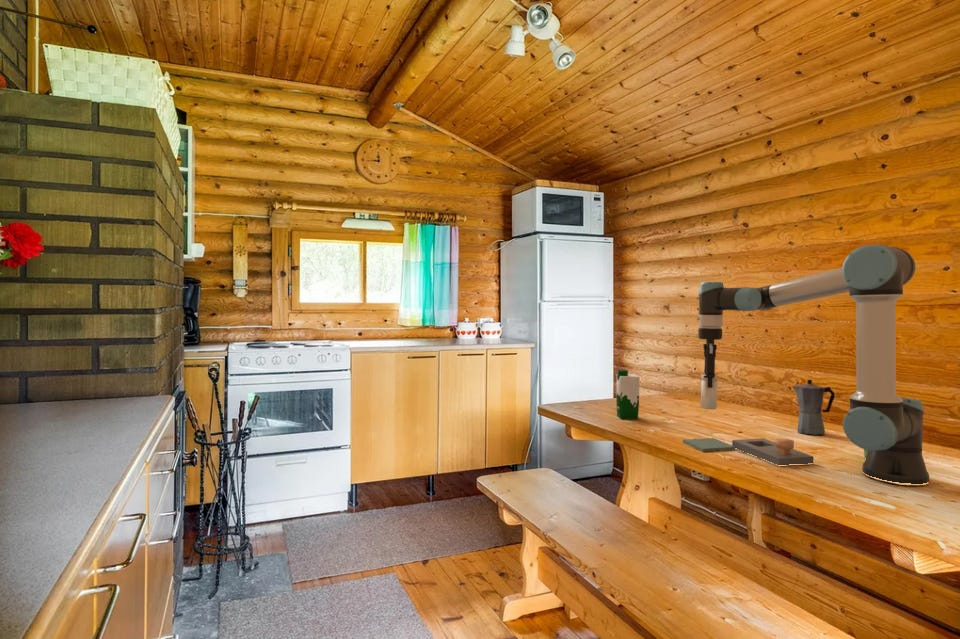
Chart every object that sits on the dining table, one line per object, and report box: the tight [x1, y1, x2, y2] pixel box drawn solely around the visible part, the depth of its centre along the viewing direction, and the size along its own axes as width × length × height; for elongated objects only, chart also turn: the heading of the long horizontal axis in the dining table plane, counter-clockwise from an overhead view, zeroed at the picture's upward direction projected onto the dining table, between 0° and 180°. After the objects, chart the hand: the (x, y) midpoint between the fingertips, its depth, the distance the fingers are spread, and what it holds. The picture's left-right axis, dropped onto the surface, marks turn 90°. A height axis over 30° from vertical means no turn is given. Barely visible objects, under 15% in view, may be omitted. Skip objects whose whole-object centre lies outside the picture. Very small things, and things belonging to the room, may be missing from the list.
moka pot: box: [792, 379, 836, 436], centre depth 207 cm, size 10×15×20 cm, turn 33°
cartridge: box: [700, 374, 718, 410], centre depth 189 cm, size 5×5×11 cm
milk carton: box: [615, 369, 640, 420], centre depth 234 cm, size 9×9×20 cm
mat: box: [682, 437, 736, 453], centre depth 190 cm, size 12×12×1 cm
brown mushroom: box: [775, 437, 795, 455], centre depth 173 cm, size 5×5×6 cm
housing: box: [731, 437, 815, 465], centre depth 178 cm, size 22×12×2 cm, turn 11°
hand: (708, 395), depth 189 cm, fingers closed on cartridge, 5 cm apart
